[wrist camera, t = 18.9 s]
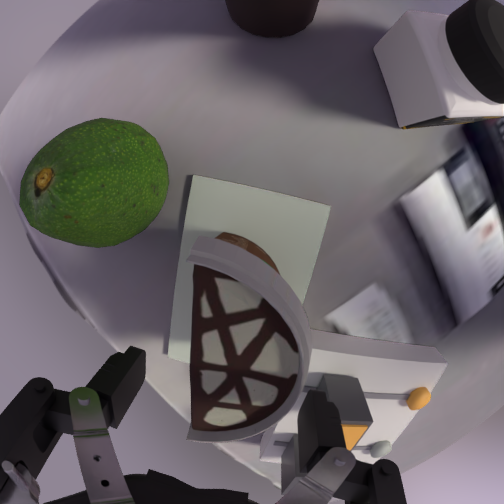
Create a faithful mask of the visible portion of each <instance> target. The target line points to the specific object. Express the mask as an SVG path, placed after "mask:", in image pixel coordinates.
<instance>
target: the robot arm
mask: <svg viewBox="0 0 504 504" xmlns="http://www.w3.org/2000/svg"><path fill="white" fill-rule="evenodd" d="M145 374H146V352H145V350H142V349H139V348H136V347H133V346H130V347H129V348H128V349H127V350H126V352H125V353H124V354H123V353H121V352H117V353H115V354H114V355H112V356H110V357H109V358H108V360H107V361H106V362H105V364H103V366H102V367H101V369H99V371H98V372H97V373H96V374H95V376H94V377H93V378H92V379H91V380H90V382H89V383H88V384H87V385H86V387H78V388H75V389H74V390H72V391H71V392H67V391H62V390H57V389H54V388H53V385H52V383H51V382H50V381H49V380H47V379H45V378H41V377H38V378H33V379H31V380H30V381H29V382H28V383H27V384H26V385H25V386H24V387H23V389H22V390H21V391H20V392H19V393H18V394H17V396H16V397H15V398H14V399H13V400H12V401H11V403H10V404H9V405H8V406H7V407H6V409H5V410H4V411H3V412H2V413H1V415H0V504H39V502H38V501H39V495H40V487H39V485H38V483H37V481H36V478H37V476H38V475H39V473H40V471H41V469H42V468H43V466H44V464H45V462H46V460H47V459H48V457H49V455H50V454H51V452H52V450H53V449H54V447H55V445H56V444H57V442H58V440H59V439H60V437H61V435H62V434H63V433H66V434H71V435H73V437H74V442H75V447H76V452H77V456H78V460H79V465H80V468H81V472H82V476H83V480H84V483H85V486H86V490H85V491H82V492H79V493H76V494H73V495H70V496H67V497H63V498H61V499H57V500H54V501H50V502H46V503H44V504H258V503H257V502H254V501H252V500H249V499H248V493H244V492H238V491H232V490H226V489H198V488H195V487H192V486H190V485H188V484H186V483H184V482H182V481H180V480H178V479H176V478H174V477H172V476H169V475H166V474H162V473H159V472H156V471H153V470H150V469H149V470H148V473H147V474H129V475H124V476H123V473H122V471H121V468H120V465H119V463H118V460H117V457H116V454H115V451H114V448H113V445H112V442H111V439H110V435H109V433H108V430H107V429H108V427H109V426H111V427H113V428H116V429H117V427H118V426H119V424H120V422H121V420H122V419H123V417H124V415H125V413H126V412H127V410H128V408H129V407H130V405H131V403H132V401H133V400H134V398H135V396H136V395H137V393H138V391H139V390H140V388H141V386H142V384H143V382H144V379H145ZM341 424H342V423H341V419H340V414H339V410H338V408H337V407H336V405H335V404H334V403H333V402H328V401H327V397H326V392H325V391H320V390H313V389H310V390H309V391H308V393H307V395H306V397H305V399H304V401H303V403H302V406H301V408H300V410H299V413H298V418H297V425H298V445H299V468H300V473H307V475H306V476H305V477H303V478H302V479H301V480H300V481H299V482H298V483H297V484H296V485H295V486H294V487H293V488H292V489H291V490H289V491H288V492H287V493H286V494H285V495H284V496H283V497H282V498H281V499H280V500H279V501H278V502H277V503H275V504H327V503H328V502H329V501H330V499H331V498H332V497H335V498H338V499H342V500H345V504H407V503H406V498H405V494H404V489H403V484H402V480H401V476H400V472H399V468H398V466H397V465H396V464H395V463H394V462H393V461H391V460H387V459H380V460H378V461H376V462H375V463H374V464H370V463H366V462H362V461H359V460H357V459H356V458H355V456H354V454H353V453H352V452H351V451H349V450H348V449H347V448H346V443H345V438H344V433H343V428H342V426H341Z"/></svg>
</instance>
